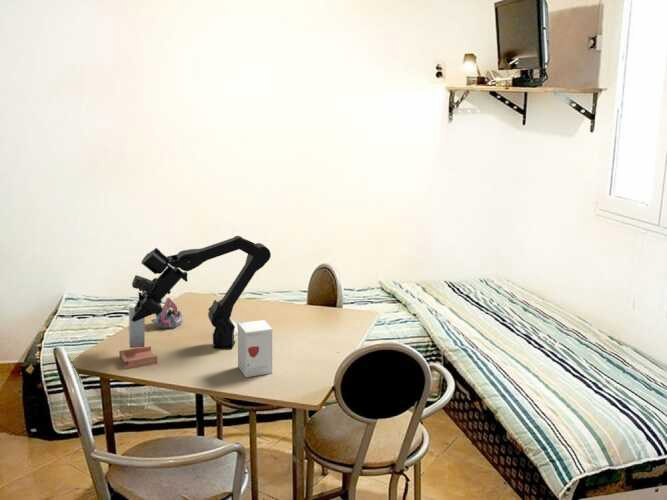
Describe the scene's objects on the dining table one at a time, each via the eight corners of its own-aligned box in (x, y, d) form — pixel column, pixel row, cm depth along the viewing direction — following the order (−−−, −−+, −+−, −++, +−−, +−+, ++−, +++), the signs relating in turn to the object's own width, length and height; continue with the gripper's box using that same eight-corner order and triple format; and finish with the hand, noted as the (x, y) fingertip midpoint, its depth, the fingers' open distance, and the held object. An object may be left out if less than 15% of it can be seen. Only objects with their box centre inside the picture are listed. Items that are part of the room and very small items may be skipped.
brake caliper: (177, 326, 227) (158, 299, 227) (157, 340, 231) (138, 314, 231) (192, 316, 238) (174, 290, 238) (173, 330, 242) (155, 305, 241)
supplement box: (245, 378, 192) (244, 332, 188) (237, 366, 200) (236, 322, 196) (273, 373, 195) (273, 328, 192) (264, 362, 203) (264, 319, 200)
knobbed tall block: (143, 341, 208) (143, 304, 206) (144, 347, 204) (144, 309, 201) (129, 342, 207) (129, 305, 204) (130, 348, 202) (130, 309, 199)
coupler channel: (150, 352, 209) (150, 345, 209) (157, 363, 201) (157, 356, 200) (119, 357, 205) (119, 350, 204) (125, 369, 196) (125, 361, 196)
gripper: (143, 260, 209) (111, 295, 208) (148, 274, 192) (113, 312, 191) (169, 280, 214) (137, 314, 212) (176, 296, 197) (142, 333, 196)
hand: (132, 318), depth 203 cm, fingers closed on knobbed tall block, 5 cm apart
